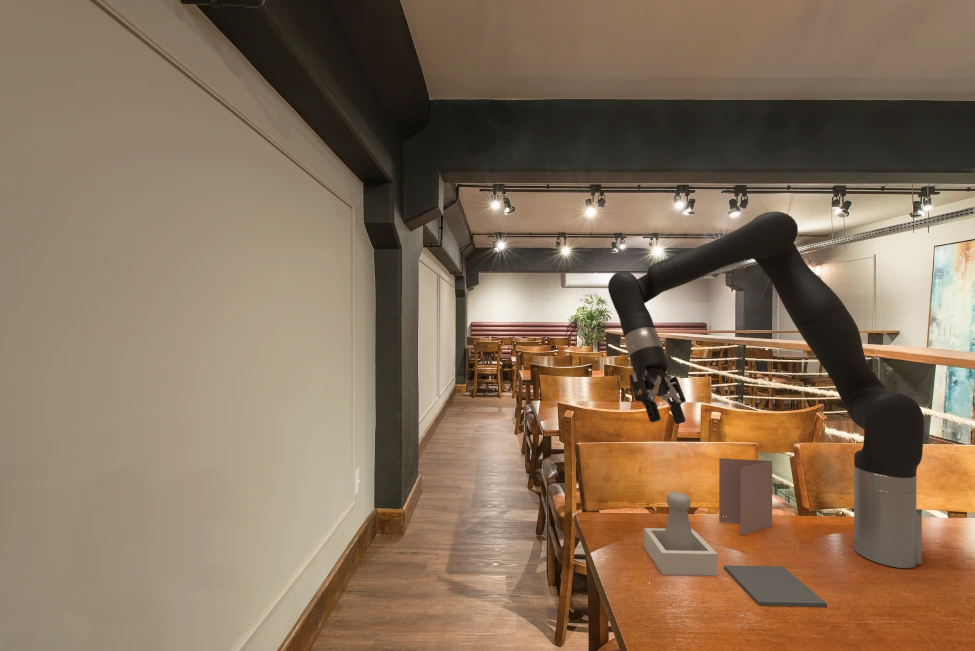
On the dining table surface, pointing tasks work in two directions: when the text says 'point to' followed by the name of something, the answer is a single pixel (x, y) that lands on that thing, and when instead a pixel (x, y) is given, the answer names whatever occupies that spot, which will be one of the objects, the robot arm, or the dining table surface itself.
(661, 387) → the robot arm
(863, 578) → the dining table surface
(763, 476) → the greeting card
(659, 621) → the dining table surface
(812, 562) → the dining table surface
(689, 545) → the salt shaker
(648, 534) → the collar
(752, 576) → the mat
